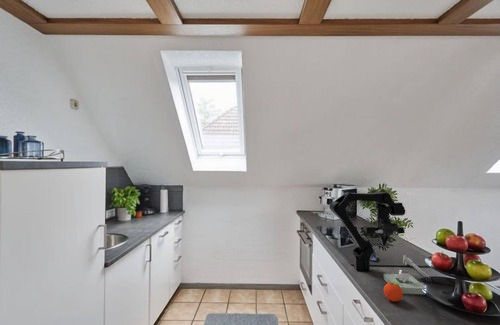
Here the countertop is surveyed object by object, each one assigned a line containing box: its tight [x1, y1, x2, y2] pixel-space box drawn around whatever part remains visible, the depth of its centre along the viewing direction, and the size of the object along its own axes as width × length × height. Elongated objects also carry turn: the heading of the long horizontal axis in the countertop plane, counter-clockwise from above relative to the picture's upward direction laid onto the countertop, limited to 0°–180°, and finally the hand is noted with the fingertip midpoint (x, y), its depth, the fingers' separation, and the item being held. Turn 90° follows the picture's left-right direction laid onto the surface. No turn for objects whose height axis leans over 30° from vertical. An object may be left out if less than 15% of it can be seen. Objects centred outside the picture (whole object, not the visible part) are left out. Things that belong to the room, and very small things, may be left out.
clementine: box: [383, 282, 404, 302], centre depth 105 cm, size 8×7×7 cm
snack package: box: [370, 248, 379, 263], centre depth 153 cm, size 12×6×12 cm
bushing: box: [397, 268, 410, 284], centre depth 117 cm, size 4×4×7 cm
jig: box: [383, 273, 428, 295], centre depth 117 cm, size 12×14×2 cm
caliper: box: [402, 253, 430, 278], centre depth 133 cm, size 20×1×6 cm, turn 1°
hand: (383, 245), depth 137 cm, fingers closed
